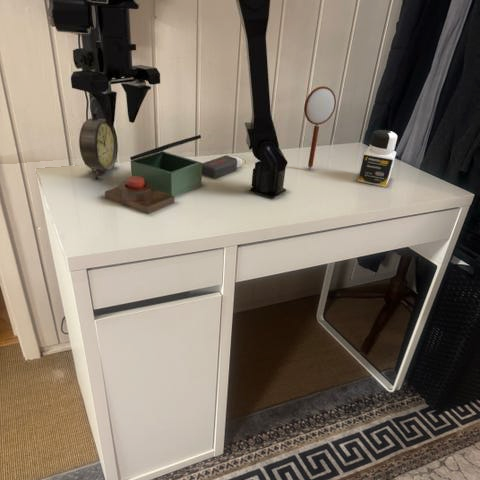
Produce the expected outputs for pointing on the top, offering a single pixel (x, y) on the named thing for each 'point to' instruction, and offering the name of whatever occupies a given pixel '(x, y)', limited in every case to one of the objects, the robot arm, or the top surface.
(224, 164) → the usb drive
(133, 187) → the button
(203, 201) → the top surface
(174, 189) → the cooker
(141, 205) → the control block
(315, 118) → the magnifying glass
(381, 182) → the medicine bottle
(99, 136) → the alarm clock
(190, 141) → the cooker lid
